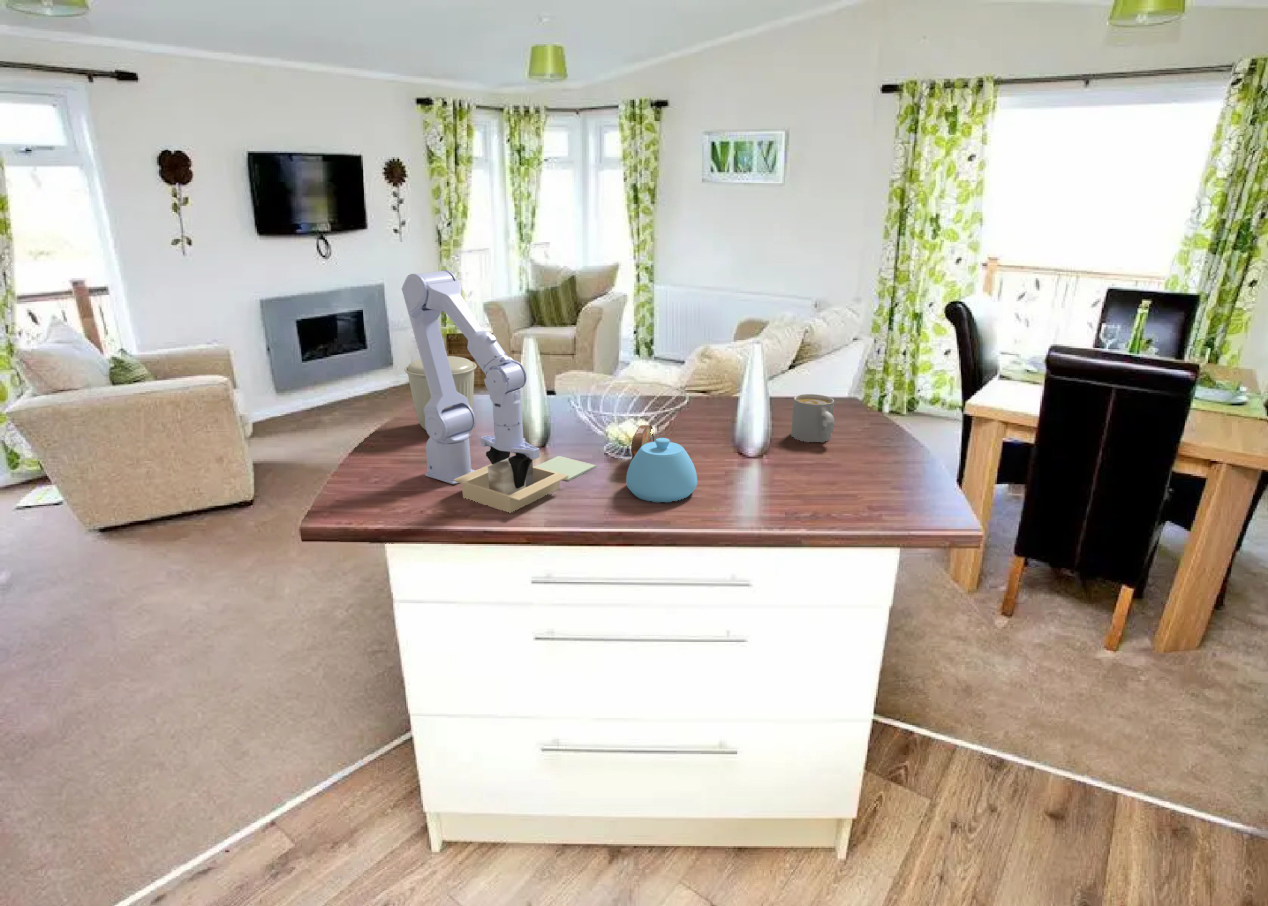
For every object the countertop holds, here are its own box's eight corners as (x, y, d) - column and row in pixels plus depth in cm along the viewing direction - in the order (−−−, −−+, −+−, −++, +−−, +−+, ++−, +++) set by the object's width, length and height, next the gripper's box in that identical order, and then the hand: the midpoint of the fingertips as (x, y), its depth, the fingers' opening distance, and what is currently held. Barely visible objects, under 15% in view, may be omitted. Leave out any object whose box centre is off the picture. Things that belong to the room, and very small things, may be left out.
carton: (454, 495, 152) (453, 479, 151) (505, 473, 164) (504, 458, 163) (519, 516, 143) (519, 499, 142) (568, 491, 155) (568, 475, 154)
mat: (530, 470, 166) (530, 468, 166) (558, 457, 174) (558, 455, 173) (568, 480, 160) (568, 478, 160) (596, 467, 168) (596, 465, 168)
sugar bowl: (687, 475, 164) (688, 426, 160) (704, 503, 150) (707, 449, 146) (620, 479, 161) (620, 429, 157) (632, 507, 147) (632, 453, 143)
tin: (643, 476, 163) (643, 440, 160) (629, 475, 164) (629, 439, 161) (654, 453, 177) (655, 420, 174) (642, 452, 177) (642, 419, 175)
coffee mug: (785, 431, 193) (788, 394, 190) (821, 429, 195) (825, 393, 191) (804, 448, 181) (807, 409, 177) (842, 446, 182) (846, 407, 179)
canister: (427, 415, 205) (420, 340, 197) (489, 418, 202) (484, 343, 195) (399, 436, 188) (390, 355, 181) (466, 439, 186) (460, 357, 178)
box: (489, 498, 151) (487, 466, 149) (519, 484, 158) (518, 453, 156) (504, 502, 149) (502, 470, 147) (533, 488, 156) (532, 457, 154)
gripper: (548, 423, 148) (550, 485, 152) (495, 411, 155) (499, 471, 160) (524, 432, 142) (528, 496, 147) (471, 419, 150) (476, 481, 154)
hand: (511, 484), depth 153 cm, fingers closed on box, 4 cm apart
